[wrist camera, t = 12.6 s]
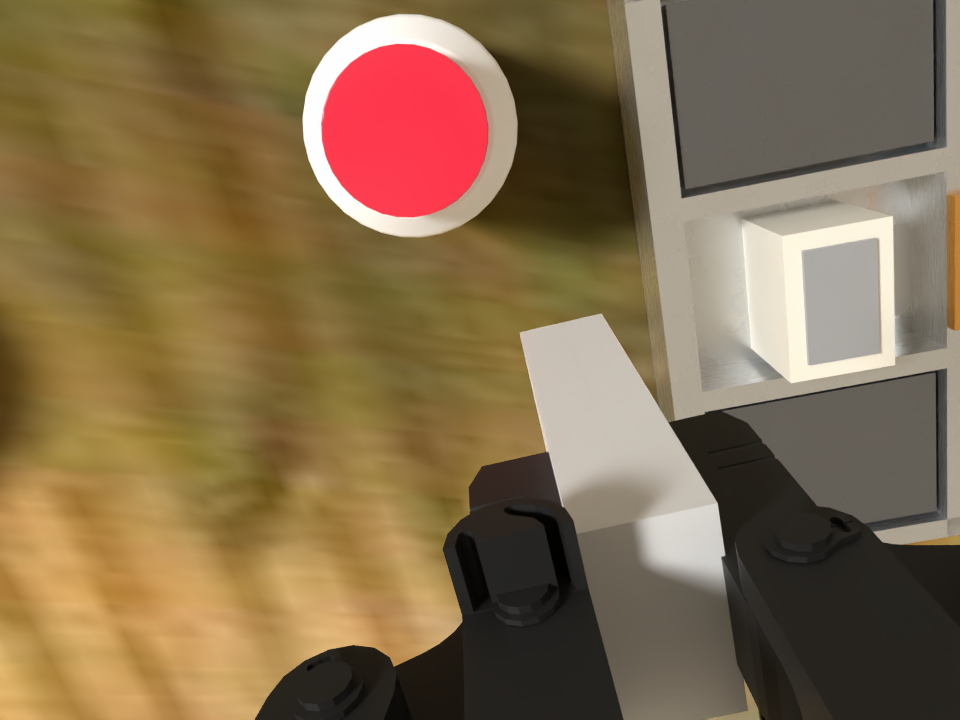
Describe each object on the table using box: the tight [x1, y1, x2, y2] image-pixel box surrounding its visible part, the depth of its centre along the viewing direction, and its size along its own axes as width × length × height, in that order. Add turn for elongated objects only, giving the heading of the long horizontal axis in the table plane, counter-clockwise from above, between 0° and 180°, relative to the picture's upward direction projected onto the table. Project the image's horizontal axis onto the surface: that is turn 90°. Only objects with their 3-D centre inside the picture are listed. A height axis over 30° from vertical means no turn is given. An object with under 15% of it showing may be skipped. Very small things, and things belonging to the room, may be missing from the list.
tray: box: [606, 0, 960, 545], centre depth 36 cm, size 28×14×4 cm, turn 11°
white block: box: [741, 201, 895, 383], centre depth 35 cm, size 6×4×5 cm
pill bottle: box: [303, 14, 518, 237], centre depth 31 cm, size 8×8×11 cm
